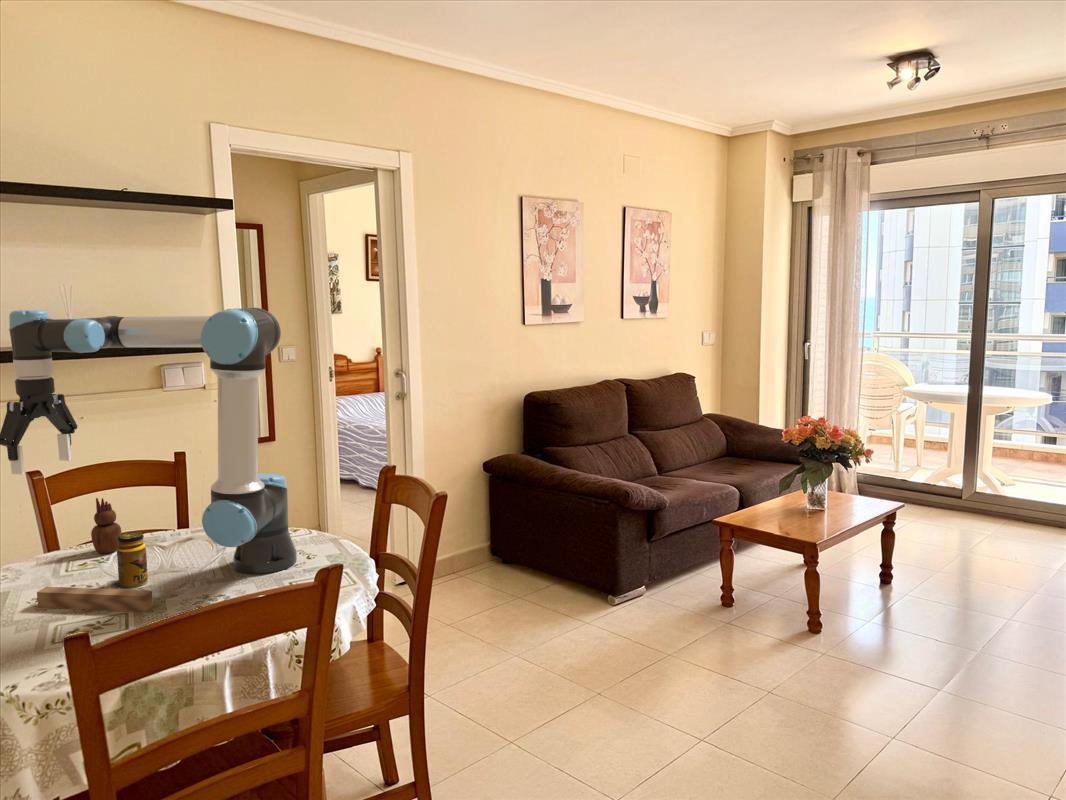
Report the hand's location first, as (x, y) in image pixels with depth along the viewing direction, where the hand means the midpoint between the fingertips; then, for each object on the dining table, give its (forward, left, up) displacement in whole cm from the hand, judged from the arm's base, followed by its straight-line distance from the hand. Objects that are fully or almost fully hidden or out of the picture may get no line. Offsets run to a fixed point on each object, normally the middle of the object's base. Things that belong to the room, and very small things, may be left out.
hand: (42, 467), depth 176 cm
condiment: (-21, +3, -27) cm, 35 cm away
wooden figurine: (-3, -17, -27) cm, 32 cm away
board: (-21, +16, -27) cm, 38 cm away
